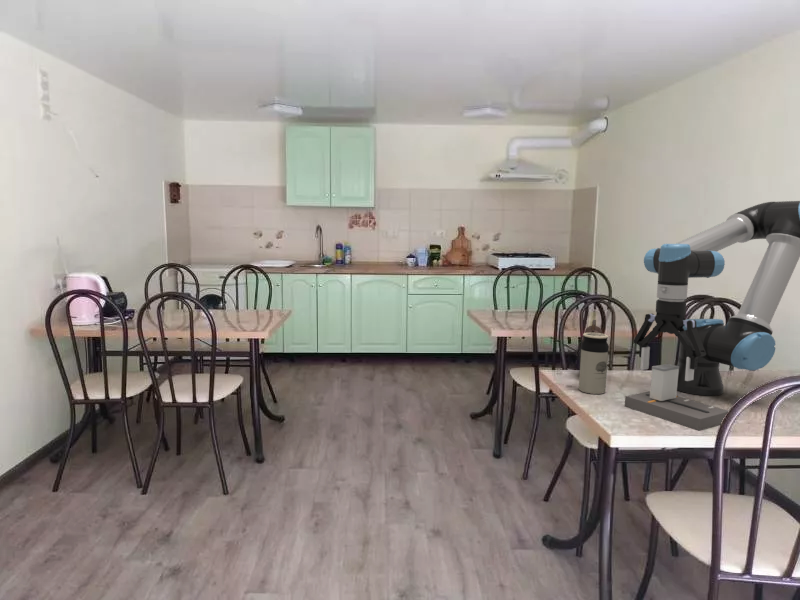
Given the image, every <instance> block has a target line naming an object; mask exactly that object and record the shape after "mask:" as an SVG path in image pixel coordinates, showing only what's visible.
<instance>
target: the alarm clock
mask: <svg viewBox="0 0 800 600" xmlns="http://www.w3.org/2000/svg"><path fill="white" fill-rule="evenodd" d="M584 333H601V334H603V329H601V327H600V326H597V319H592V323H591V325H589V326H587V327H585V331H584ZM583 341H584V336H583V337H582V340H581V343H580V348H579V362H580V361H581V346H582V343H583Z"/></svg>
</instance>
